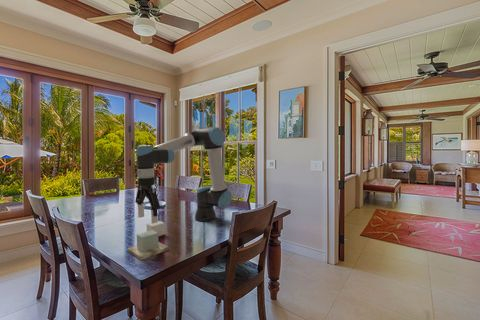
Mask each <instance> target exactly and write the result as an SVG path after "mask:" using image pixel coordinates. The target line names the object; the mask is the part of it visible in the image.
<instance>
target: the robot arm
mask: <svg viewBox="0 0 480 320" xmlns="http://www.w3.org/2000/svg"><path fill="white" fill-rule="evenodd" d="M225 141H226V136H225V133H224V131H223V129H221V128H220V127H217V126H216V127H215V126H212V127H211V126H210V127H200V128H199V127H198V128H196V129H194V130H191V131H190V132H186V133H185V134H184V135H183V136H179V137H176V138H173V139H172V140H169V141H166V142H162V143H161V144H160V143H159V144H157V145H155V146H153V145H138V146H136V147H137V148H136V165H137V166H136V167H137V168H136V169H137V171H136V174H137V177H138V178H137V192H136V197H135V201H134V202H135V203H136V204H137V215H138V216H137V217H138V219H140V218H144V217H145V208H144V207H145V206H144V205H145V199H146V198H147V200H148V202H149V205H150V207H151V209H150V214H151V216H150V217H151V223H152V224H153V223H157V222H158V221H159V219H158V209H160V208H161V205H160V201H159V198H158V194H157V188H156V187H153V186H155V177H154V176H155V165H160V164H161V165H162V164H170V163H171V164H172V163H173V162H174V161H175V159H176V158H175V155H176V154H175V153H177V152H179V151H181V150H184V149H187V148H192V147H197V146H203V148H204V150H205V151H206V152H207V153H206V154H207V159H208V166H209V167H208V168H209V174H210V181H211V185H208V186H201V187H198V188H197V189H196V211H195V214H194V221H197V222H203V221H205V222H210V220H212V221H214V220H213V219H215V218H216V219H217V215H216V212H215V211H216V210H215V209H214V207H217V208H219V209H220V208H223V209H224V208H227V207H229V205H230V204H231V201H232V199H233V194H232V192H231V191H230V190H228V186H227V185H226V183H225V179H224V178H225V177H224V170H223V161H222V155H221V149H222V148H223V145H224V144H225ZM216 219H215V220H216Z"/></svg>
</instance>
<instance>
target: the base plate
mask: <svg viewBox="0 0 480 320" xmlns="http://www.w3.org/2000/svg"><path fill="white" fill-rule="evenodd" d="M126 249H127V250H126V251H127V252H128V253H129V254H131V255H133V256H134V257H135V258H136V259H138V260H139V261H142V260H145V259H147V258H150V257H152V256H155V255H158V254H160V253H164V252H166V251H168V250H169V246H167V245H165V244H164V243H161V242H160V241H158V247H156V248H153V249H150V250H147V251H144V252H142V251H140V250H139V249H137V244H136V245H132V246H130V247H127V248H126Z"/></svg>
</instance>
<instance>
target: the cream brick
mask: <svg viewBox="0 0 480 320" xmlns="http://www.w3.org/2000/svg"><path fill="white" fill-rule="evenodd" d="M165 224H166V223H165V222H164V221H162V220H158V222H157V223H153V224H152V222H149V223H146V232H147V231H151V230H153V231H155V232H157V233H158V237H162V236H163V235H165V234H166V233H165V232H166V231H165V230H166V228H165V227H166V225H165Z"/></svg>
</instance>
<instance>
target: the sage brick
mask: <svg viewBox="0 0 480 320" xmlns="http://www.w3.org/2000/svg"><path fill="white" fill-rule="evenodd" d="M158 242H159V236H158V233H157V232H155V231H153V230H151V231H147V230H146V231H144V232H140V233H137V234H136V245H137V249H139V250H140V251H142V252H144V251H147V250H150V249H153V248H156V247H158Z"/></svg>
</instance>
